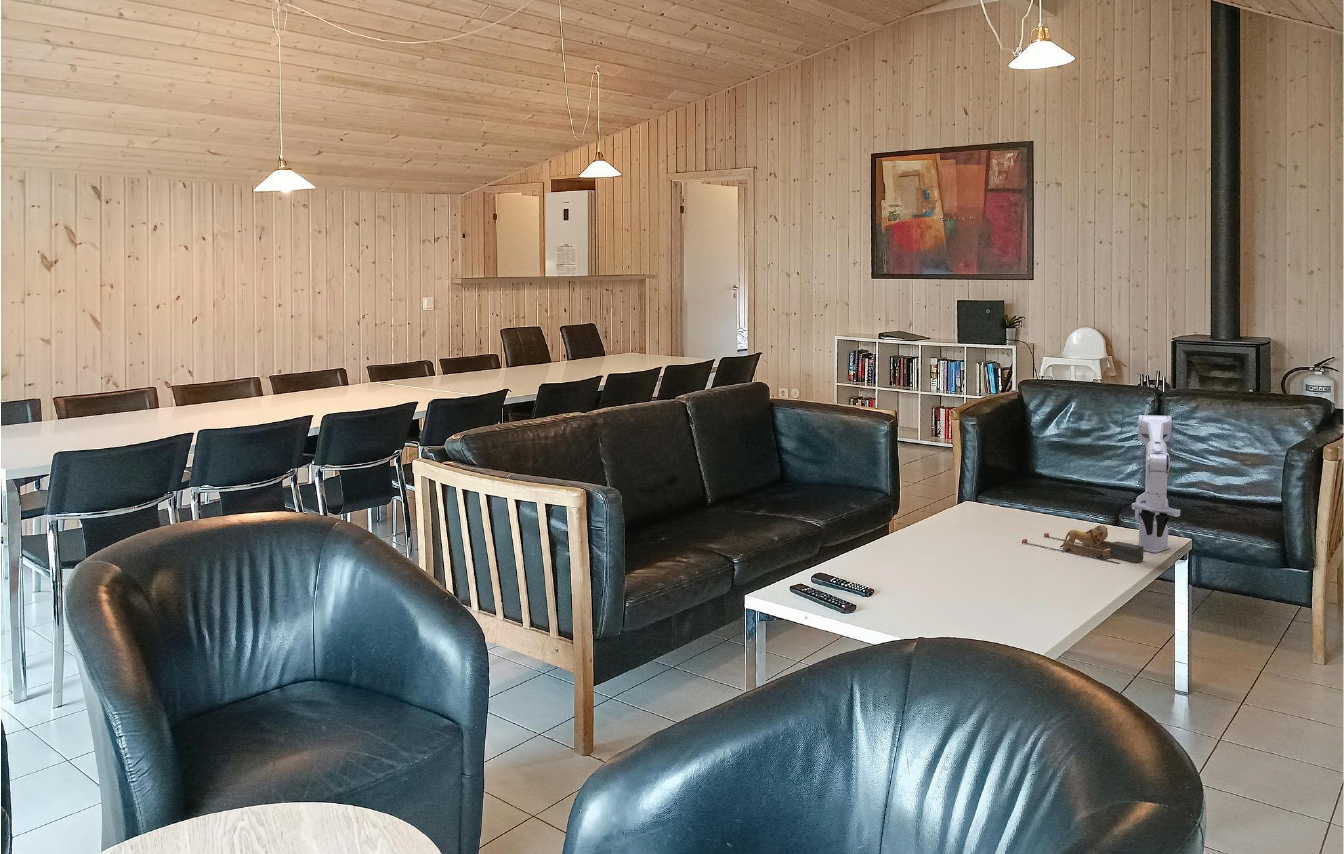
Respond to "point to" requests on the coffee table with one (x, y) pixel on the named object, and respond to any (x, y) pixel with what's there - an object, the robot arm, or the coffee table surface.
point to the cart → (1108, 550)
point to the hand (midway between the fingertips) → (1154, 535)
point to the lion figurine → (1088, 536)
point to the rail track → (1065, 551)
